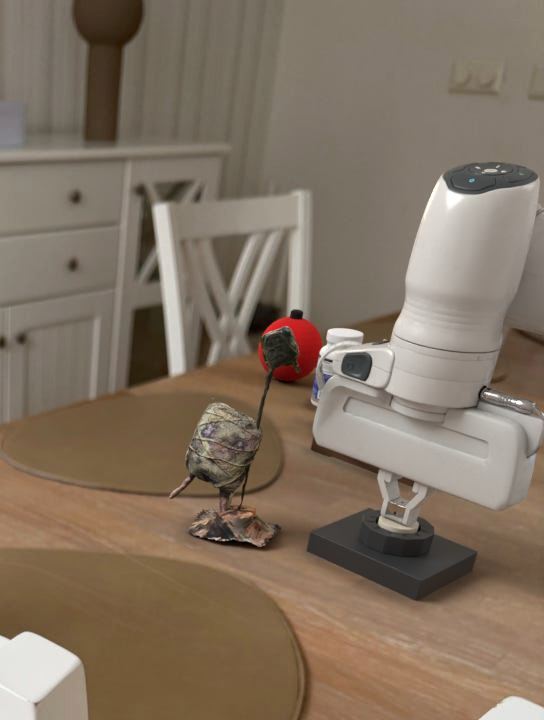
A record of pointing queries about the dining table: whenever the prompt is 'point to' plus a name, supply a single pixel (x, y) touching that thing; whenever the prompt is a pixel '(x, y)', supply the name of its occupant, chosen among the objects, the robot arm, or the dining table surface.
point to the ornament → (306, 342)
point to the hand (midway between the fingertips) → (397, 519)
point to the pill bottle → (332, 338)
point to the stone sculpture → (234, 454)
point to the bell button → (397, 526)
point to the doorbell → (392, 554)
